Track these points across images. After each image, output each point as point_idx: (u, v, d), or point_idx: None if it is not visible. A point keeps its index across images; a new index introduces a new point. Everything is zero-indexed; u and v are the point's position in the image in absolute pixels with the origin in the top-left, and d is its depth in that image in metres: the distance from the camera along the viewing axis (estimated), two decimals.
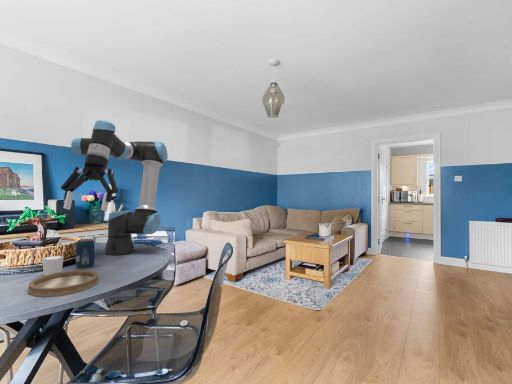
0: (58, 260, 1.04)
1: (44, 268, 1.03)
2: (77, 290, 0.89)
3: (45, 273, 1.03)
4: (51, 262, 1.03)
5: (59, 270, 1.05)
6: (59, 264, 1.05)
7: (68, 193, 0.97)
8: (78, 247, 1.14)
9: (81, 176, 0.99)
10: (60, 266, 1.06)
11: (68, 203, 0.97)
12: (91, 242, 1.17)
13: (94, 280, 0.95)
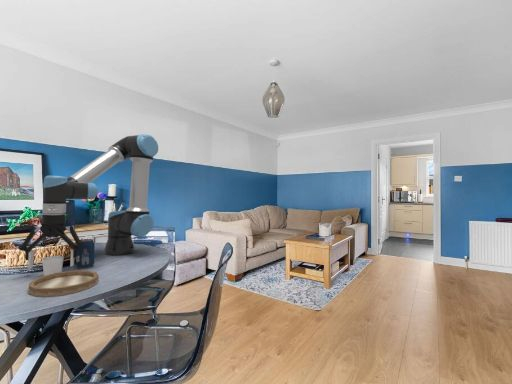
0: (58, 260, 1.04)
1: (44, 268, 1.03)
2: (77, 290, 0.89)
3: (45, 273, 1.03)
4: (51, 262, 1.03)
5: (59, 270, 1.05)
6: (59, 264, 1.05)
7: (30, 254, 1.01)
8: None
9: (41, 236, 1.03)
10: (60, 266, 1.06)
11: (31, 263, 1.02)
12: (91, 242, 1.17)
13: (94, 280, 0.95)
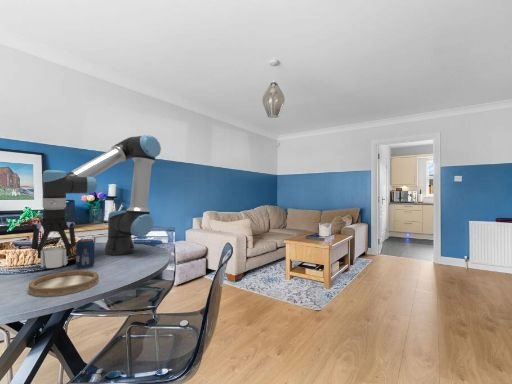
0: (59, 251, 1.05)
1: (46, 259, 1.03)
2: (77, 290, 0.89)
3: (47, 264, 1.03)
4: (53, 253, 1.03)
5: (61, 261, 1.06)
6: (61, 255, 1.05)
7: (42, 252, 1.03)
8: (78, 247, 1.14)
9: (46, 232, 1.03)
10: (62, 257, 1.06)
11: (44, 261, 1.04)
12: (91, 242, 1.17)
13: (94, 280, 0.95)
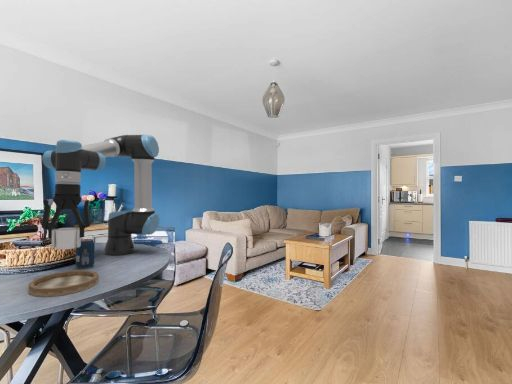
0: (73, 231, 0.93)
1: (57, 239, 0.92)
2: (77, 290, 0.89)
3: (58, 245, 0.92)
4: (65, 233, 0.92)
5: (74, 242, 0.94)
6: (74, 236, 0.94)
7: (53, 232, 0.92)
8: (78, 247, 1.14)
9: (58, 209, 0.92)
10: (75, 238, 0.95)
11: (55, 242, 0.93)
12: (91, 242, 1.17)
13: (94, 280, 0.95)
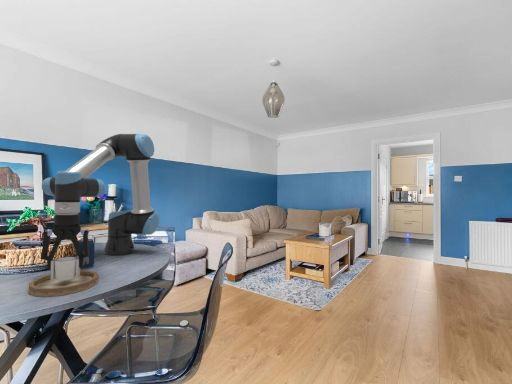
0: (72, 262, 0.93)
1: (56, 271, 0.92)
2: (77, 290, 0.89)
3: (57, 276, 0.92)
4: (64, 264, 0.92)
5: (73, 273, 0.94)
6: (73, 266, 0.94)
7: (52, 263, 0.92)
8: None
9: (57, 240, 0.92)
10: (74, 268, 0.95)
11: (54, 272, 0.93)
12: (91, 242, 1.17)
13: (94, 280, 0.95)
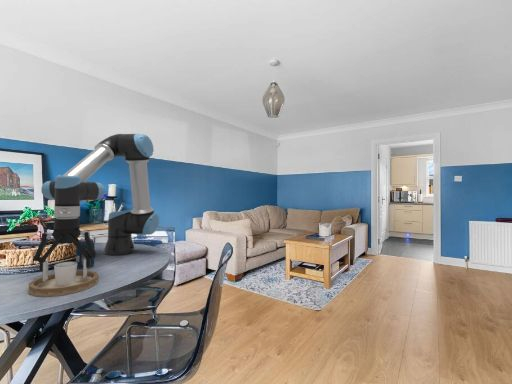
0: (72, 267, 0.93)
1: (56, 276, 0.92)
2: (77, 290, 0.89)
3: (57, 281, 0.92)
4: (64, 269, 0.92)
5: (73, 278, 0.94)
6: (73, 271, 0.94)
7: (44, 265, 0.91)
8: None
9: (55, 244, 0.92)
10: (74, 273, 0.95)
11: (46, 274, 0.92)
12: None
13: (94, 280, 0.95)
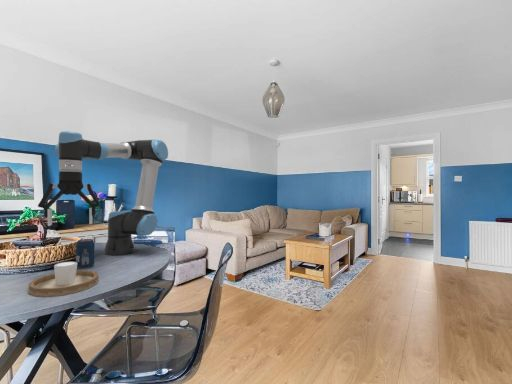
0: (72, 267, 0.93)
1: (56, 276, 0.92)
2: (77, 290, 0.89)
3: (57, 281, 0.92)
4: (64, 269, 0.92)
5: (73, 278, 0.94)
6: (73, 271, 0.94)
7: (49, 211, 1.00)
8: (78, 247, 1.14)
9: (59, 193, 1.01)
10: (74, 273, 0.95)
11: (50, 220, 1.01)
12: (91, 242, 1.17)
13: (94, 280, 0.95)
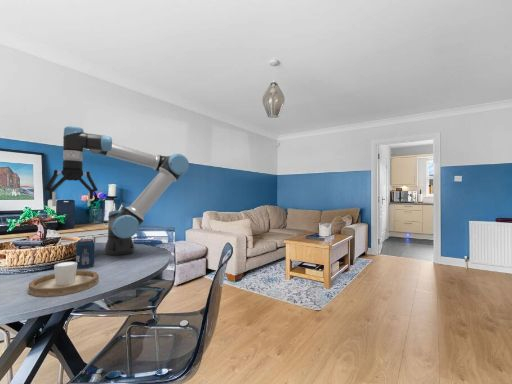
0: (72, 267, 0.93)
1: (56, 276, 0.92)
2: (77, 290, 0.89)
3: (57, 281, 0.92)
4: (64, 269, 0.92)
5: (73, 278, 0.94)
6: (73, 271, 0.94)
7: (53, 193, 1.18)
8: (78, 247, 1.14)
9: (63, 179, 1.19)
10: (74, 273, 0.95)
11: (54, 201, 1.19)
12: (91, 242, 1.17)
13: (94, 280, 0.95)
